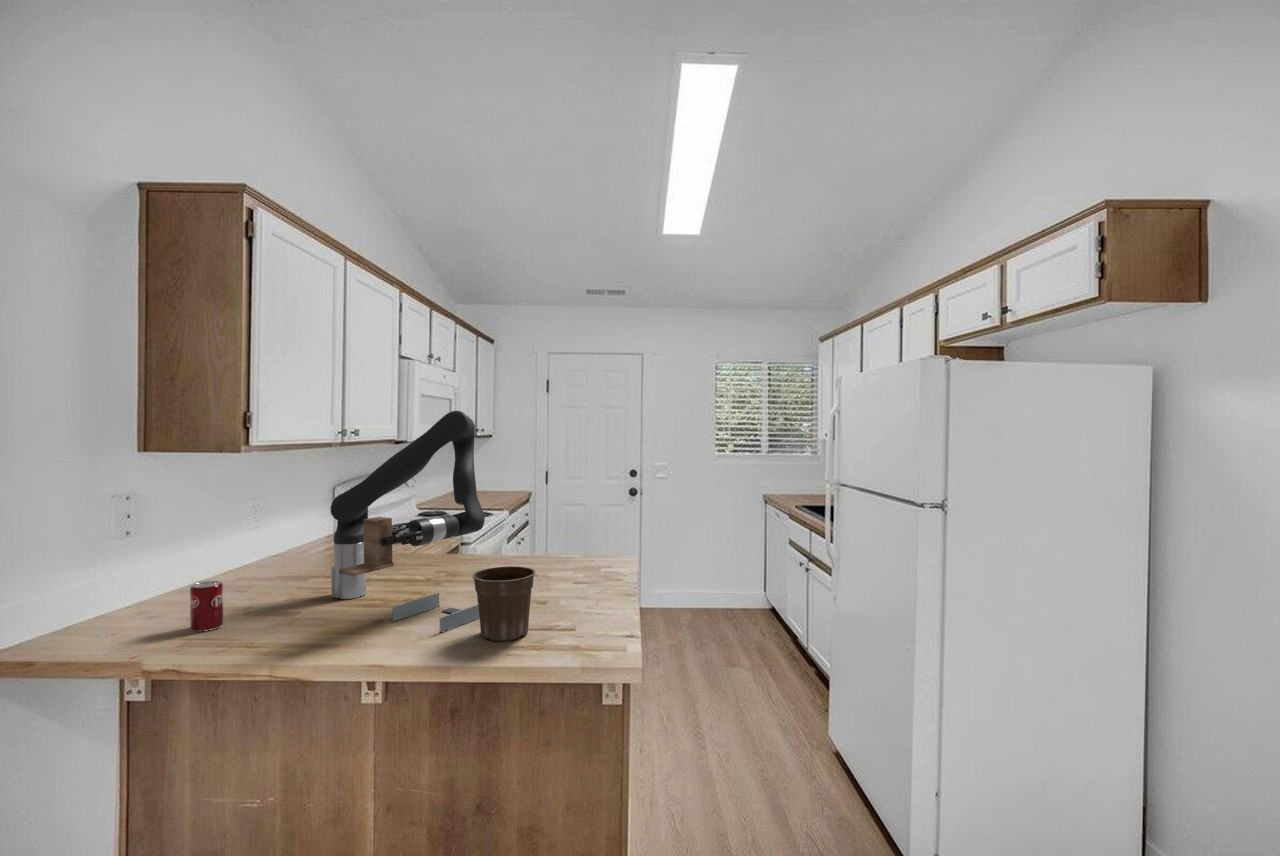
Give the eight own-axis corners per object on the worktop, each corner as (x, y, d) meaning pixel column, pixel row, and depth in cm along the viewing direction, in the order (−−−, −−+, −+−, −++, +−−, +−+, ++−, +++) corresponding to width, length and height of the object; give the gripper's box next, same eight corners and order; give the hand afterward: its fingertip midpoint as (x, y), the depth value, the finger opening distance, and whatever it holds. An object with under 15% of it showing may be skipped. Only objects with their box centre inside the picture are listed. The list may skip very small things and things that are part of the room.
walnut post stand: (378, 563, 169) (378, 516, 169) (393, 566, 166) (393, 518, 166) (338, 573, 159) (338, 523, 158) (353, 576, 156) (353, 525, 155)
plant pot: (468, 628, 166) (468, 568, 166) (527, 620, 172) (527, 563, 172) (477, 648, 151) (477, 583, 151) (542, 639, 157) (542, 576, 157)
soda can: (188, 634, 161) (187, 588, 161) (193, 626, 167) (192, 582, 167) (221, 630, 164) (221, 585, 164) (225, 622, 171) (224, 579, 170)
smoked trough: (437, 606, 185) (437, 593, 185) (484, 616, 176) (484, 602, 176) (392, 621, 172) (392, 606, 171) (441, 633, 162) (441, 618, 162)
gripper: (409, 516, 183) (358, 524, 168) (443, 520, 176) (393, 529, 161) (409, 541, 183) (358, 552, 168) (443, 546, 176) (393, 558, 161)
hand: (375, 541), depth 165 cm, fingers closed on walnut post stand, 5 cm apart
